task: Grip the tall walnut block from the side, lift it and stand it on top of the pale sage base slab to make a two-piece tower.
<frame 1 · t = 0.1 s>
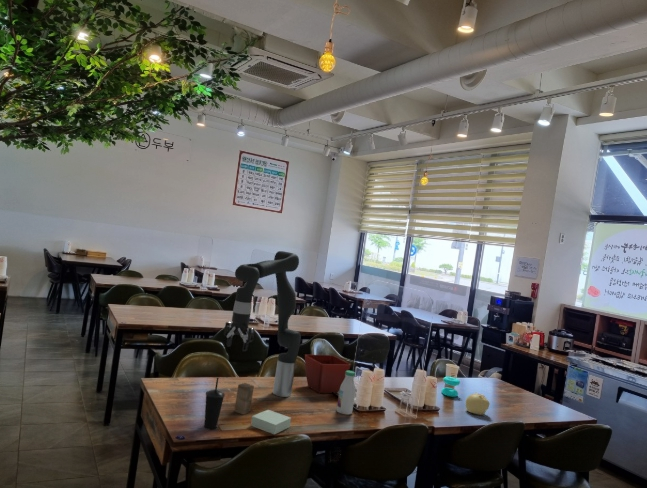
hand: (236, 348, 220), 29 cm above the table, tool pointing down, fingers open, 8 cm apart
pale yellow round lump: (475, 413, 279), on the table
drinking cup: (210, 427, 205), on the table
donuts: (449, 395, 308), on the table
milk bottle: (344, 412, 247), on the table
plant pot: (322, 389, 279), on the table
walnut block: (242, 411, 227), on the table
base slab: (270, 426, 215), on the table
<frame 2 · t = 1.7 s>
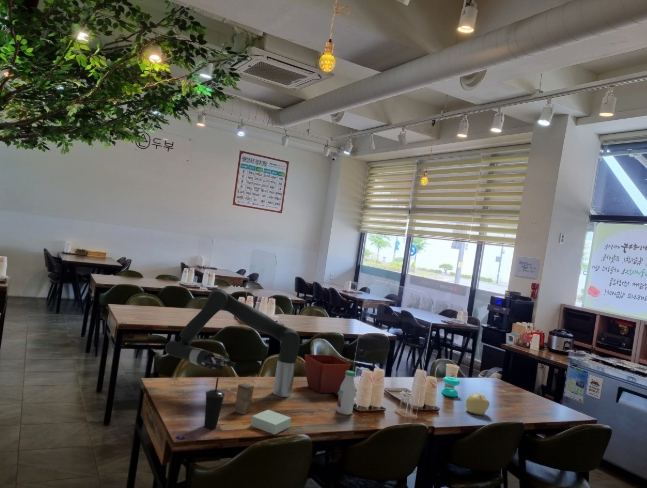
hand: (228, 366, 232), 18 cm above the table, tool horizontal, fingers open, 8 cm apart
nothing on the table moved.
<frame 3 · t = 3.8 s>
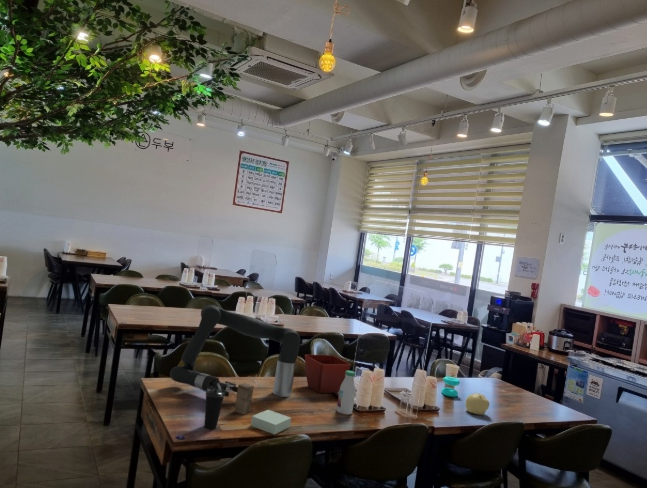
hand: (234, 392, 230), 7 cm above the table, tool horizontal, fingers open, 8 cm apart
nothing on the table moved.
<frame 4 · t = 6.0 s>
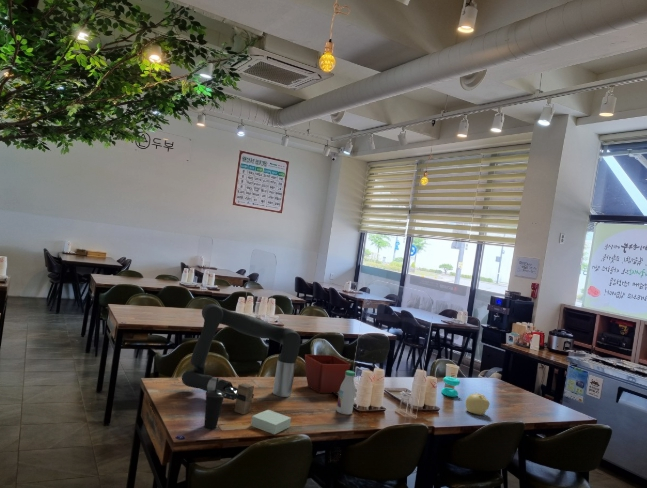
hand: (249, 397, 226), 7 cm above the table, tool horizontal, fingers closed on walnut block, 5 cm apart
walnut block: (242, 411, 227), on the table, touching gripper
everything else where it was.
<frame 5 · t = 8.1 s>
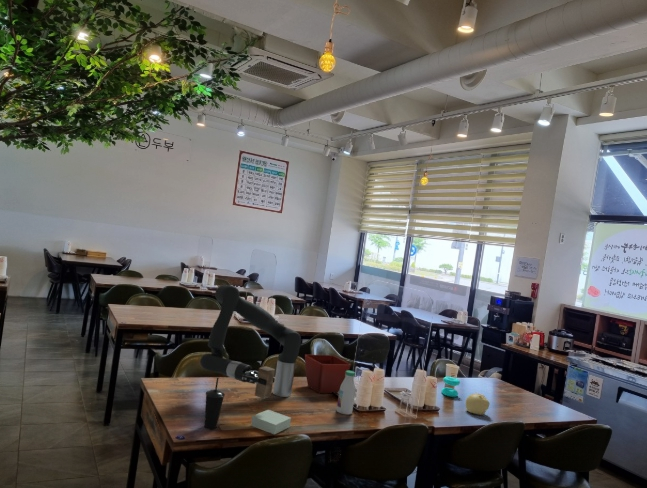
hand: (270, 381, 218), 18 cm above the table, tool horizontal, fingers closed on walnut block, 5 cm apart
walnut block: (262, 396, 219), point 11 cm above the table, touching gripper
everything else where it was.
when the fingers open (12 cm above the table, at t = 10.3 s): walnut block drops 1 cm, resting on base slab.
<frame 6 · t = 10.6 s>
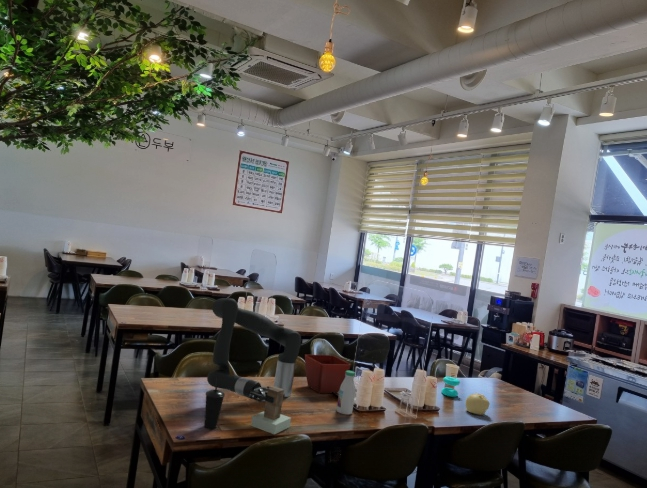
hand: (278, 398, 214), 13 cm above the table, tool horizontal, fingers open, 7 cm apart
walnut block: (271, 416, 215), point 4 cm above the table, touching base slab
everything else where it was.
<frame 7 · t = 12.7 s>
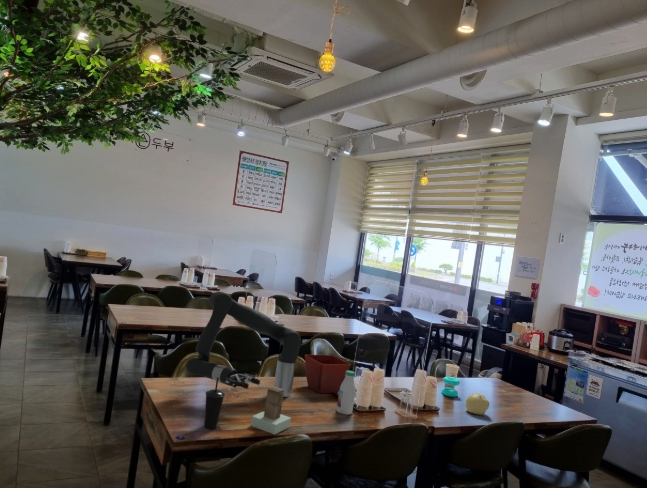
hand: (253, 384, 221), 15 cm above the table, tool horizontal, fingers open, 8 cm apart
nothing on the table moved.
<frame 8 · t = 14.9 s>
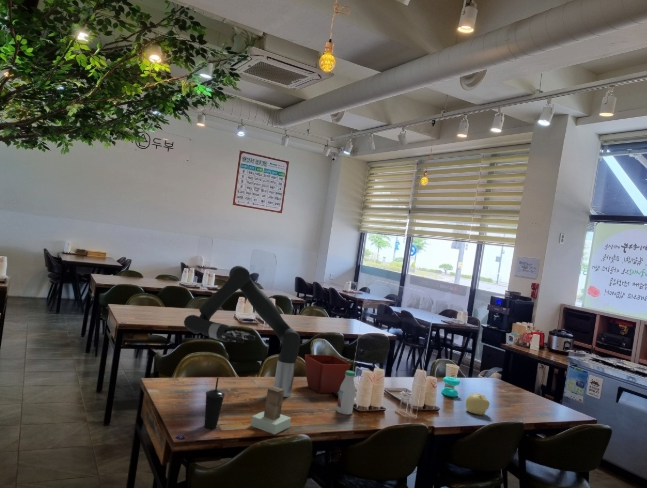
hand: (249, 339, 228), 32 cm above the table, tool horizontal, fingers open, 8 cm apart
nothing on the table moved.
at the end: walnut block inside the target area on the base slab (0.0 cm from its centre), point 4.0 cm above the base slab's base; walnut block tilted 0°; the gripper is holding nothing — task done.
